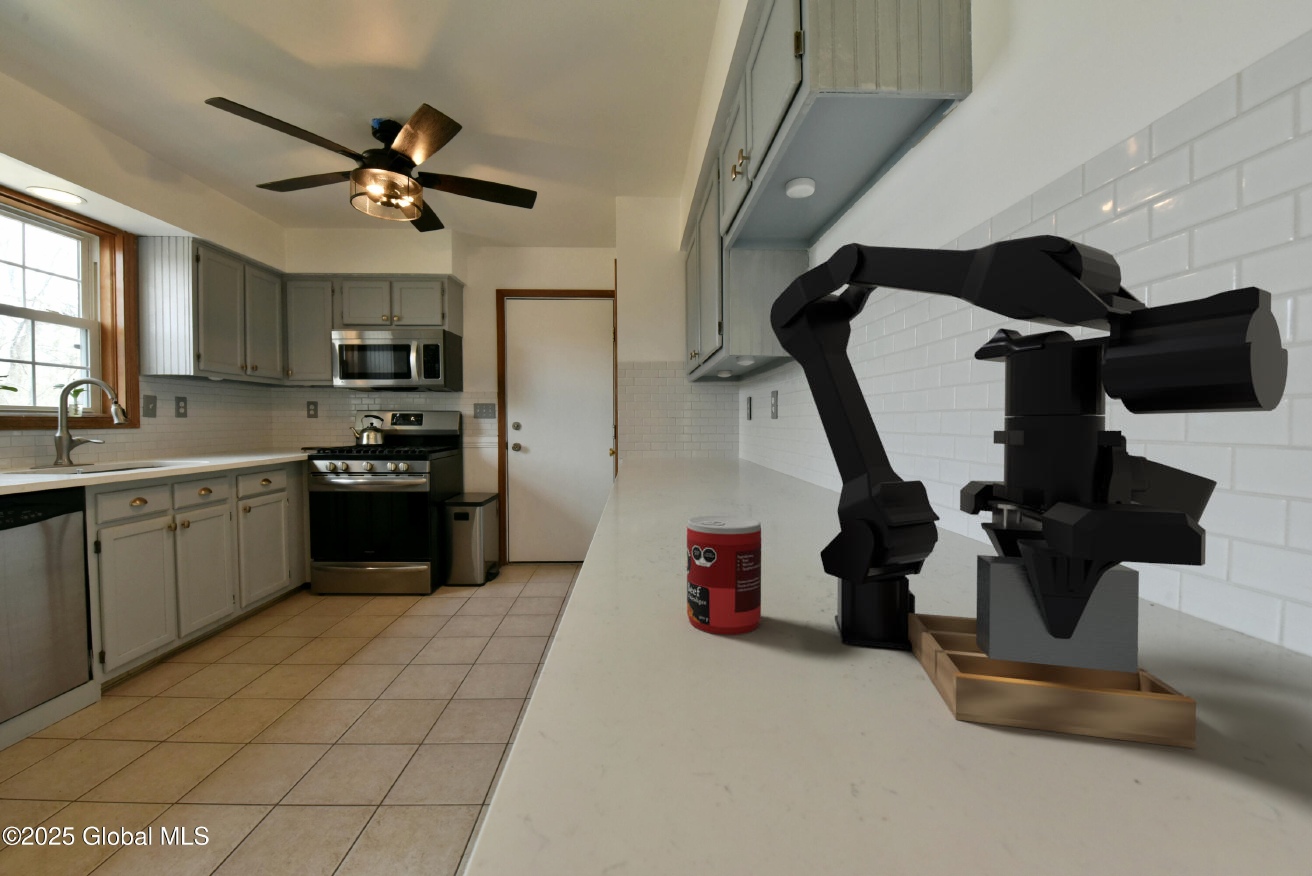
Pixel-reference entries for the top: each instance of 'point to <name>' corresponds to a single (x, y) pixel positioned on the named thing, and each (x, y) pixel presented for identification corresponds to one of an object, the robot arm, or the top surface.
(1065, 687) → the tray
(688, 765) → the top surface
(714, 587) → the canned food
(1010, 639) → the panel
